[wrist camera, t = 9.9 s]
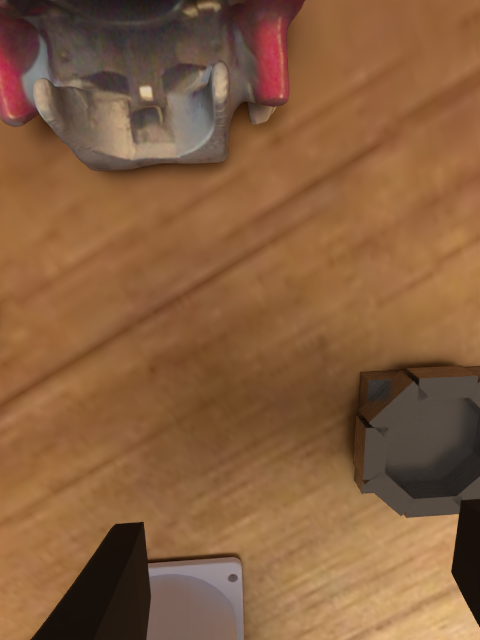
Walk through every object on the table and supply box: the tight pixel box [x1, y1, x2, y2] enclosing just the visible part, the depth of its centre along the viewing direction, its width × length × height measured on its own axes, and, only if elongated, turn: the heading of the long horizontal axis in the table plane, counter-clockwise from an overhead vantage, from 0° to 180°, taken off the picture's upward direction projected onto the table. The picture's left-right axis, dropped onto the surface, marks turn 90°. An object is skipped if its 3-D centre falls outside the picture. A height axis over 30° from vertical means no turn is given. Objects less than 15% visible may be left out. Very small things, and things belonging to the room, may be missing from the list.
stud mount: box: [354, 366, 480, 518], centre depth 18 cm, size 7×7×2 cm
